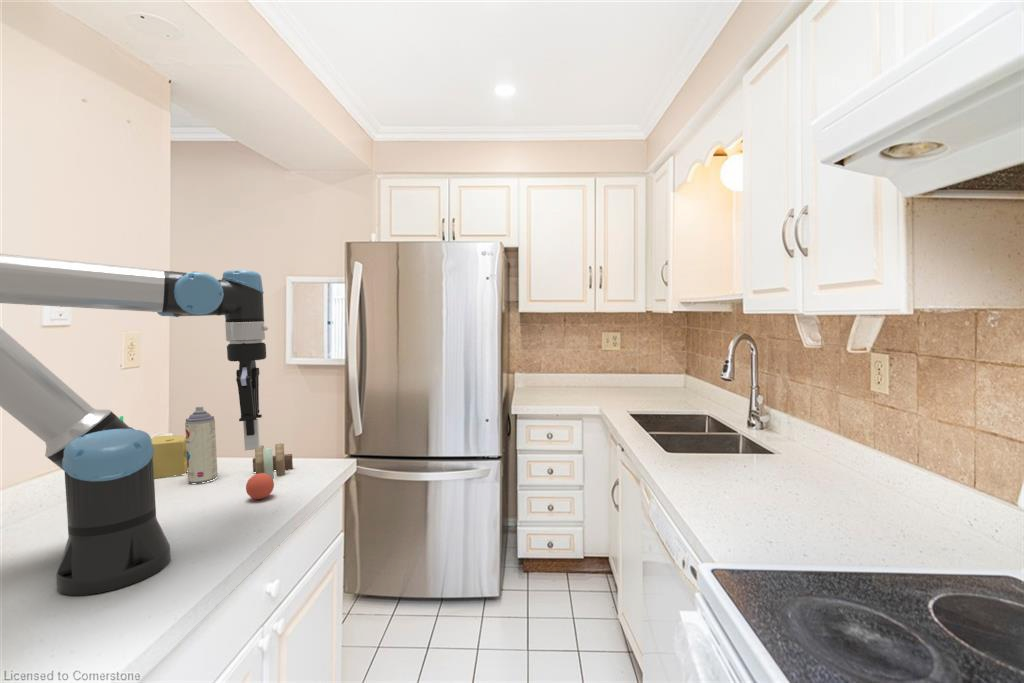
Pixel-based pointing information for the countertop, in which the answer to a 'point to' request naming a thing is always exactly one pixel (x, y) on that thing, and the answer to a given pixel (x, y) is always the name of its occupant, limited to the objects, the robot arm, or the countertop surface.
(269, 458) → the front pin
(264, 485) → the ball
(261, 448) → the pin
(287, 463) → the back wall
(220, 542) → the countertop surface
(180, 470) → the yellow box
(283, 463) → the pin
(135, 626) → the countertop surface
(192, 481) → the aerosol can
